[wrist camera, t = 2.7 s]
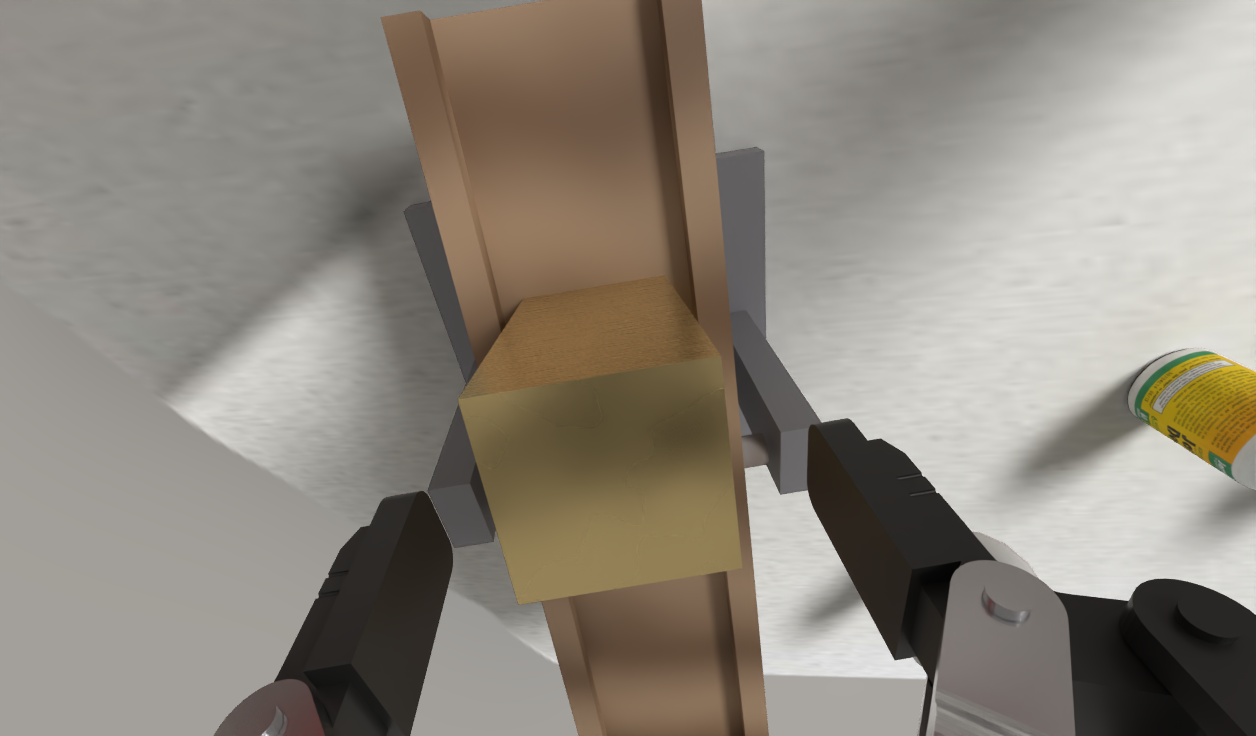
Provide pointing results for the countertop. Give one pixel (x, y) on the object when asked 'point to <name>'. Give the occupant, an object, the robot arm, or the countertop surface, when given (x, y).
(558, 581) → the rider
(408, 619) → the robot arm
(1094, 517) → the countertop surface
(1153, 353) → the countertop surface
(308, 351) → the countertop surface
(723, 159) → the pivot stand
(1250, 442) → the supplement bottle
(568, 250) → the beam
